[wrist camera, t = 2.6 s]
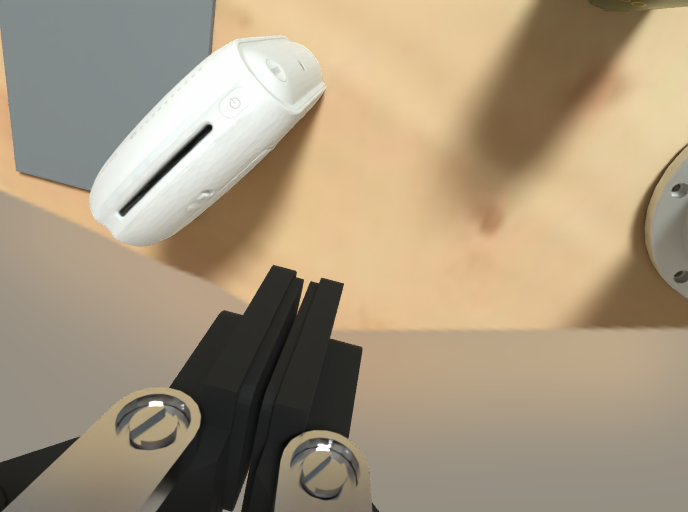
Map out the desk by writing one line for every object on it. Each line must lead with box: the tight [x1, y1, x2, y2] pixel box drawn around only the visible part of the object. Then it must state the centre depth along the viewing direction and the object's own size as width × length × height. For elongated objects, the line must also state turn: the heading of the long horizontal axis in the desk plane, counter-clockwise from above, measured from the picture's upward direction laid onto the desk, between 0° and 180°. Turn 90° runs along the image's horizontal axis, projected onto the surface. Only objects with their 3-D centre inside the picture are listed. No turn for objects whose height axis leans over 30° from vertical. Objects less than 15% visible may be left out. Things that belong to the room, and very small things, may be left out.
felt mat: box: [0, 0, 216, 219], centre depth 28 cm, size 13×16×1 cm
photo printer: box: [89, 35, 326, 247], centre depth 23 cm, size 10×4×12 cm, turn 130°
